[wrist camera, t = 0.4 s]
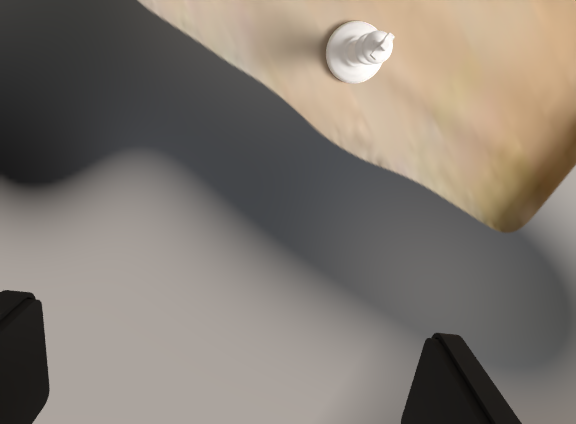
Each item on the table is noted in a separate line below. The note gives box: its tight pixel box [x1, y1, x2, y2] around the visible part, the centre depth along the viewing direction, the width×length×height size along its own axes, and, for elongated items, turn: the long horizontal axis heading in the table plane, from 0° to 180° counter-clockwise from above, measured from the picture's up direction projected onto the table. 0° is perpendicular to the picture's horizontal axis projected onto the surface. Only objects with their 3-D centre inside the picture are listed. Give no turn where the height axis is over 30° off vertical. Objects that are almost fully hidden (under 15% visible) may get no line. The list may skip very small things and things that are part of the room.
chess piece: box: [326, 21, 395, 84], centre depth 28 cm, size 5×5×10 cm
